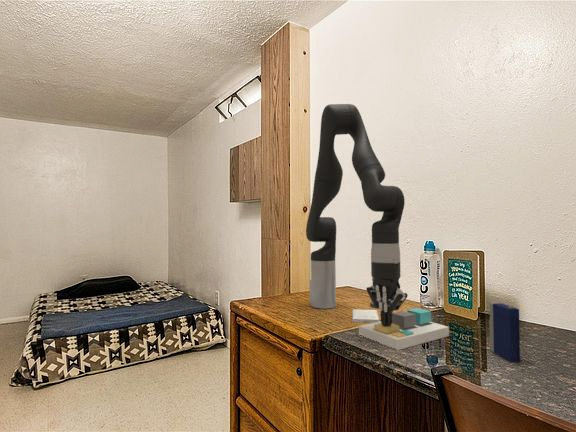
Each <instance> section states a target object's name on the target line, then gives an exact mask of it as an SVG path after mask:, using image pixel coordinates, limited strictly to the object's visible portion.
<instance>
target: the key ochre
mask: <svg viewBox="0 0 576 432" xmlns="http://www.w3.org/2000/svg"><path fill="white" fill-rule="evenodd" d="M374 330H375V331H378V332H381V333H383V334H386V335H388V334H391V333H395V332H399V326H398V325H395V324H391V325H390V326H384V325H382V323H379V324H374Z"/></svg>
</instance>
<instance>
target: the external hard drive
mask: <svg viewBox="0 0 576 432" xmlns="http://www.w3.org/2000/svg"><path fill="white" fill-rule="evenodd" d="M352 322H353V323H367V324H371V323H376V322H380V318H379V314H378V311H377V309H376V310H375V309H358V308H357V309H356V308H355V309H352Z"/></svg>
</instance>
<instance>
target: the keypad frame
mask: <svg viewBox="0 0 576 432" xmlns="http://www.w3.org/2000/svg"><path fill="white" fill-rule="evenodd" d="M379 323H381V321H379V322H376V323H366V324H363V325H358V335H359V336H360V335H362V336H361V337H363V336H364V337H363V338H365V337H366V338H365V339H368V338H369V339H368V340H370V339H371V341H373V340H374V341H373V342H376V341H377V342H376V343H378V342H379V343H378V344H381V345H383V346H386V347H389V348H391V347H392V349H394V348H395V349H394V350H397V351H400V350H403V349H407V348H411V347H414V346H417V345H421V344H426V343H429V342H432V341H436V340H439V339H443V338H447V337H450V327H449V325H448V326H447V325H444V324H440V323H436V322H433V321H431V322H428V323H423V324H418V323H416V325H415V326H411V327H406V328H403V327H400V326H399V332H395V333H391V334H388V335H386V334H383V333H381V332H378V331H375V330H374V324H379Z"/></svg>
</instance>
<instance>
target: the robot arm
mask: <svg viewBox="0 0 576 432" xmlns="http://www.w3.org/2000/svg"><path fill="white" fill-rule="evenodd" d="M320 120H321V121H320V130H319V131H320V133H319V148H318V156H317V164H316V168H315V174H314V181H313V191H312V198H311V204H310V207H309V208H310V209H309V212H308V217H307V221H306V228H305V234H306V239H307V240H308V241H309V242H313V243H319V242H320V243H323V242H324V244H323V246H322V247H321V248H319V249H317V250H314V251H312V252H311V253H310V279H309V305H310V306H311V307H312V308H315V309H322V310H323V309H324V310H325V309H334V308H336V306H337V293H336V292H337V291H336V289H337V288H336V287H337V286H336V285H337V283H336V282H337V281H336V280H337V279H336V277H337V275H336V274H337V273H336V253H337V252H336V250H337V249H336V247H337V246H336V245H337V224H336V220H335V218H334V217H331V216H330V217H329V216H328V217H327V216H321V215H322V214H323V211H324V210H325V209H326V208H327V207H328V205H329V204H330V203H331V202H332V201H333V200H334V199H335V198H336V196H338V195H339V192H340V191H341V187H342V182H343V181H342V180H343V176H344V175H343V174H344V173H343V167H342V165H341V163H340V160H339V159H338V156H337V154H336V152H335V151H336V150H335V138H336V136H339V135H350V137H351V139H352V140H353V142H354V144H353V150H352V153H351V162H352V167H353V169H354V171H355V173H356V175H357V178H358V179H359V181H360V184H361V189H362V196H363V197H362V198H363V200H364V201H363V202H364V204H365V205H366V207H367V208H368V210H370V211H373V212H376V213H377V212H378V213H379V212H380V213H382V217H381V219H380V220H377V221H375V222H373V223H372V226H371V249H370V262H371V263H370V264H371V265H370V267H371V268H370V269H371V271H370V273H371V274H370V275H371V277H372V278H374V280H373V281H372V285H371V286H368V287H366V292H367V294H368V296H369V298H370V299H371V300H370V301H372V302H373V304H374V306H375V307H378V308H379V309H378V310H379V311H380V322H381V323H382V325H384V326H390V325H391V324H392V313H394V311H395V312H396V311H398V310H399V309H400V308H401V306H402V305H403V303H404V302H405V301H406V300H407V298H408V293H406V292H404V291H402V289H401V285H400V278H401V277H402V275H401V250H400V224H401V221H402V216H403V213H404V208H405V195H404V193H403V191H402V189H401V188H399V187H398V186H394V185H382V184H381V183H383V181H384V180H385V178H386V171H385V170H384V167H383V165H382V164H381V162H380V160H379V158H378V157H377V155H376V153H375V152H374V150H373V147H372V144H371V142H370V139H369V136H368V135H369V134H368V133H367V129H366V127H365V124H364V121H363V118H362V115H361V113H360V111H359V109H358V108H357V106H356V105H355V104H351V103H350V104H349V103H337V104H335V103H333V104H327V105H325V106H324V108H323V111H322V114H321V119H320ZM377 301H378V302H377Z"/></svg>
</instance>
